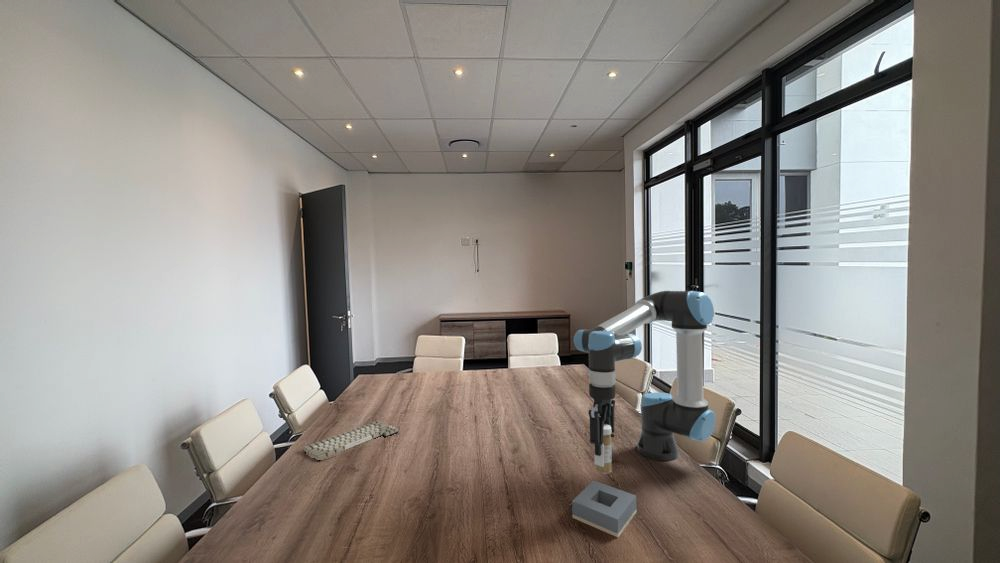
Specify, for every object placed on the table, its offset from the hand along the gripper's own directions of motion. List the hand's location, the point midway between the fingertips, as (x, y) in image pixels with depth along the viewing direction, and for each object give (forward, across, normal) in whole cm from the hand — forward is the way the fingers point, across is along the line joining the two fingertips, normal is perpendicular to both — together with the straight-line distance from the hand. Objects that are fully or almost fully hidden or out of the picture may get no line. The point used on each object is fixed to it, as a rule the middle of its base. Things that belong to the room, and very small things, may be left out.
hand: (603, 461), depth 113 cm
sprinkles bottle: (+3, 0, 0) cm, 3 cm away
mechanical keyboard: (+18, +18, -110) cm, 113 cm away
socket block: (+16, 0, 0) cm, 16 cm away
